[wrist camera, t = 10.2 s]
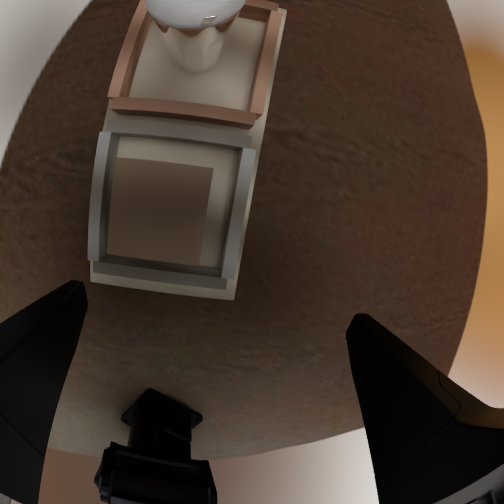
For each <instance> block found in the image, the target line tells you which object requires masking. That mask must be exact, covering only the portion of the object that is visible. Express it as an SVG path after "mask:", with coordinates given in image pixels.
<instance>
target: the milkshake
mask: <svg viewBox="0 0 504 504" xmlns="http://www.w3.org/2000/svg"><path fill="white" fill-rule="evenodd" d="M245 2H246V0H145V4H146V8H147V10H148V12H149V13H150V15H151V17H152V18H153V20H154V22H155V23H156V25H157V27H158V28H159V30H160V32H161V34H162V36H163V38H164V40H165V42H166V44H167V46H168V48H169V50H170V52H171V54H172V56H173V58H174V60H175V62H176V64H177V65H178V66H179V67H181V68H182V69H184V70H185V71H186V72H194V73H203V72H205V71H207V70H209V69H211V68H213V67H215V66H216V65H217V63H218V61H219V59H220V57H221V55H222V53H223V51H224V48H225V45H226V43H227V40H228V38H229V35H230V32H231V30H232V27H233V26H234V24H235V22H236V20H237V18H238V16H239V14H240V12H241V10H242V8H243V6H244V4H245Z"/></svg>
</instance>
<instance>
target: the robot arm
mask: <svg viewBox="0 0 504 504" xmlns="http://www.w3.org/2000/svg"><path fill="white" fill-rule="evenodd" d="M87 308H88V300H87V295H86V290H85V285H84V283H83V282H82V281H77V280H71V281H69V282H67V283H66V284H64V285H62V286H60V287H59V288H57V289H55V290H54V291H52V292H50V293H48V294H47V295H45V296H43V297H42V298H40V299H38V300H37V301H35V302H33V303H32V304H30V305H29V306H27V307H25V308H24V309H22V310H20V311H19V312H17V313H16V314H14V315H13V316H11V317H9V318H8V319H6V320H5V321H3V322H2V323H0V504H10V502H11V499H13V500H15V501H17V502H20V503H22V504H38V499H39V490H40V483H41V477H42V471H43V465H44V459H45V457H44V456H45V454H46V448H47V444H48V440H49V435H50V431H51V427H52V423H53V419H54V416H55V412H56V408H57V405H58V401H59V398H60V395H61V392H62V388H63V385H64V382H65V379H66V376H67V373H68V370H69V367H70V364H71V362H72V359H73V356H74V353H75V350H76V347H77V344H78V340H79V336H80V333H81V329H82V325H83V322H84V318H85V315H86V312H87ZM346 340H347V346H348V352H349V358H350V365H351V371H352V376H353V380H354V384H355V388H356V392H357V396H358V400H359V404H360V408H361V412H362V417H363V421H364V426H365V430H366V435H367V439H368V444H369V448H370V454H371V459H372V464H373V469H374V474H375V481H376V487H377V492H378V499H379V504H504V408H503V409H502V408H501V409H500V408H493V407H490V406H488V405H486V404H484V403H483V402H481V401H480V400H479V399H477V398H476V397H474V396H473V395H472V394H470V393H468V392H467V391H466V390H464V389H463V388H461V387H460V386H459V385H457V384H456V383H454V382H453V381H452V380H451V379H449V378H448V377H447V376H446V375H444V374H443V373H442V372H441V371H439V370H437V368H436V367H434V366H433V365H432V364H431V363H429V362H428V361H427V360H426V359H424V358H423V357H422V356H421V355H419V354H418V353H417V352H416V351H414V350H413V349H412V348H411V347H409V346H408V345H407V344H405V343H404V342H403V341H402V340H400V339H399V338H398V337H397V336H395V335H394V334H393V333H391V332H390V331H389V330H388V329H386V328H385V327H384V326H382V325H381V324H380V323H379V322H377V321H376V320H375V319H373V318H372V317H371V316H370V315H368V314H366V313H357V314H356V315H355V316H354V317H353V319H352V321H351V323H350V325H349V327H348V329H347V331H346ZM150 394H152V395H150ZM121 421H122V422H123V423H125V424H127V425H129V426H131V429H130V434H129V440H128V446H123V445H119V444H117V443H115V442H112V441H111V444H110V447H108V448H107V449H104V452H103V457H102V461H101V464H100V466H99V469H98V471H97V473H96V475H95V478H94V483H95V484H96V486H97V487H98V488H99V493H100V498H101V501H102V502H106V503H108V504H217V491H216V487H215V484H214V480H213V476H212V473H211V469H210V466H209V461H208V460H202V461H201V460H193V459H191V441H192V436H191V430H192V429H193V428H194V427H195V426H197V425H198V424H199V423H200V422H202V421H203V416H202V415H201V414H199V413H197V412H194V411H192V410H190V409H188V408H186V407H184V406H182V405H180V404H178V403H176V402H174V401H173V400H171V399H169V398H167V397H165V396H163V395H161V394H160V393H158V392H156V391H154V390H152V389H148V390H146V391H145V392H144V393H143V394H142V395H141V396H140V397H139V398H138V400H137V401H136V402H135V403H134V404H133V405H132V406H131V407H130V408H129V409H128V410H127V411H126V412H125V413H124V414H123V415H122V417H121Z"/></svg>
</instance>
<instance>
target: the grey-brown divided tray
mask: <svg viewBox="0 0 504 504" xmlns="http://www.w3.org/2000/svg"><path fill="white" fill-rule="evenodd" d="M278 6H279V4H277V3H273V2H269V1H265V0H246V2H245V4H244V6H243V8H242V10H241V12H240V14H239V16H238V18H237V20H236V22H235V24H234V26H233V27H232V30H231V32H230V35H229V38H228V40H227V43H226V45H225V48H224V51H223V53H222V55H221V57H220V59H219V61H218V63H217V65H216V66H215V67H213V68H211V69H209V70H207V71H205V72H203V73H194V72H186V71H185V70H184V69H182V68H181V67H179V66H178V65H177V64H176V62H175V60H174V58H173V56H172V54H171V52H170V50H169V48H168V46H167V44H166V42H165V40H164V38H163V36H162V34H161V32H160V30H159V28H158V27H157V25H156V23H155V22H154V20H153V18H152V17H151V15H150V13H149V12H148V10H147V8H146V4H145V0H141V1H140V3H139V5H138V7H137V10H136V12H135V14H134V17H133V19H132V22H131V24H130V27H129V29H128V32H127V35H126V37H125V40H124V43H123V46H122V49H121V52H120V55H119V58H118V61H117V64H116V67H115V71H114V74H113V78H112V81H111V85H110V89H109V92H108V96H107V97H108V98H110V100H109V104H108V108H107V113H106V117H105V122H104V127H103V132H100V133H99V138H98V144H97V150H96V156H95V163H94V171H93V179H92V188H91V198H90V210H89V227H88V260H90V280H91V282H96V283H102V284H108V285H115V286H121V287H128V288H135V289H141V290H149V291H156V292H163V293H171V294H179V295H187V296H196V297H205V298H214V299H224V300H234V297H235V291H236V285H237V279H238V274H239V268H240V262H241V256H242V250H243V245H244V239H245V233H246V227H247V222H248V216H249V210H250V205H251V199H252V193H253V188H254V182H255V177H256V171H257V166H258V160H259V155H260V149H261V144H262V138H263V133H264V128H265V122H266V117H267V111H268V106H269V101H270V95H271V90H272V85H273V80H274V74H275V69H276V64H277V59H278V54H279V48H280V43H281V38H282V33H283V28H284V23H285V18H286V13H287V10H285V9H281V8H278Z"/></svg>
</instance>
